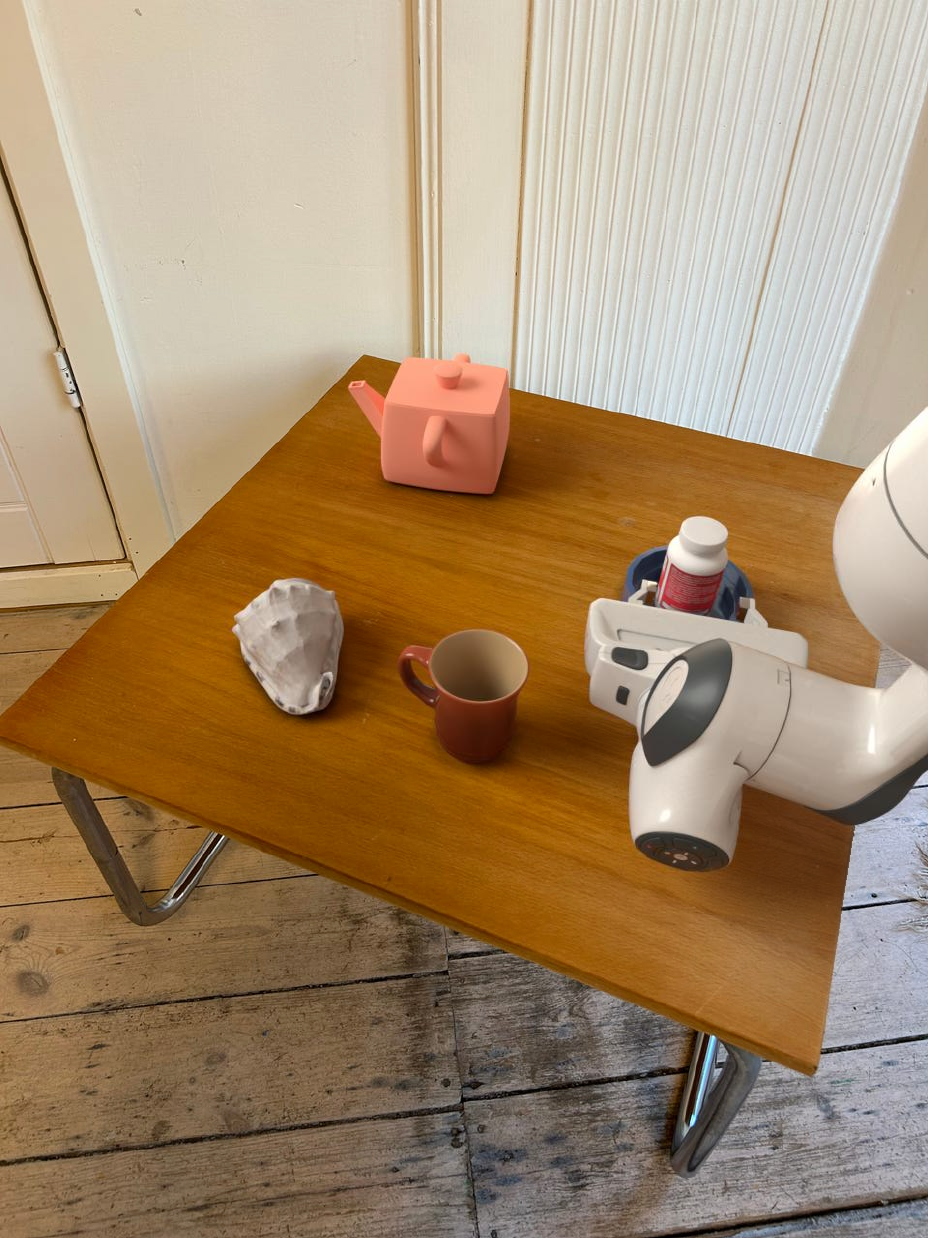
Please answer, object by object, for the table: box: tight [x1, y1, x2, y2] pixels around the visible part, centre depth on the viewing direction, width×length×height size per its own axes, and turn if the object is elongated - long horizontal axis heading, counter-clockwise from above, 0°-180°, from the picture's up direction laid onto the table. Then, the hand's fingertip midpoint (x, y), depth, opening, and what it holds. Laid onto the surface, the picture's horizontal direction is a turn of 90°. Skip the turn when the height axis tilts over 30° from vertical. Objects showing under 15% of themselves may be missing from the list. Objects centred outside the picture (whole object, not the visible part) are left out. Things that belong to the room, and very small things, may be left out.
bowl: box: [620, 544, 754, 623], centre depth 93 cm, size 13×14×4 cm
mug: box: [397, 628, 530, 764], centre depth 78 cm, size 12×9×10 cm
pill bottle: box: [655, 515, 729, 617], centre depth 90 cm, size 6×6×11 cm
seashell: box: [231, 577, 345, 716], centre depth 84 cm, size 12×14×10 cm
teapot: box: [347, 352, 511, 495], centre depth 108 cm, size 20×22×14 cm
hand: (696, 593), depth 85 cm, fingers open, 8 cm apart
